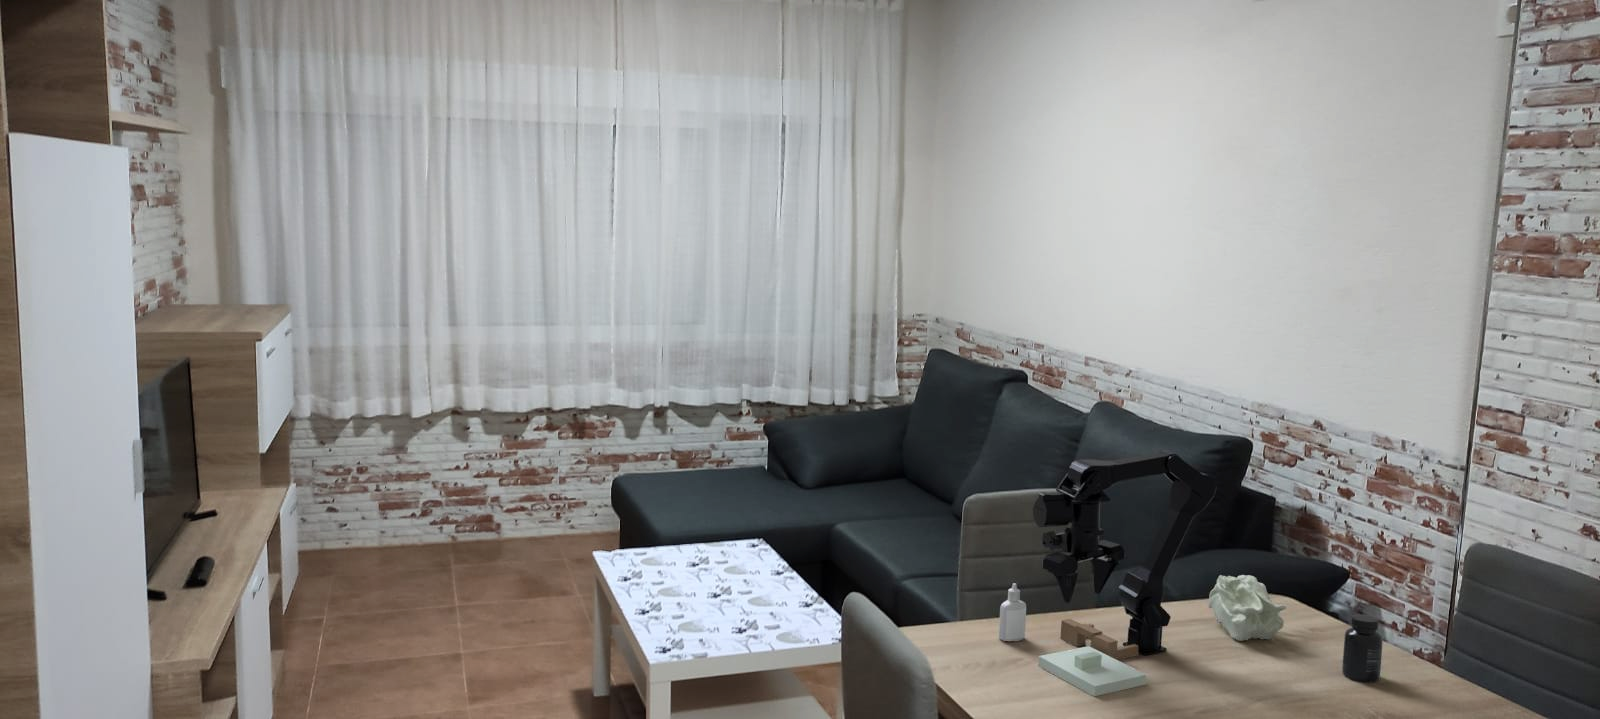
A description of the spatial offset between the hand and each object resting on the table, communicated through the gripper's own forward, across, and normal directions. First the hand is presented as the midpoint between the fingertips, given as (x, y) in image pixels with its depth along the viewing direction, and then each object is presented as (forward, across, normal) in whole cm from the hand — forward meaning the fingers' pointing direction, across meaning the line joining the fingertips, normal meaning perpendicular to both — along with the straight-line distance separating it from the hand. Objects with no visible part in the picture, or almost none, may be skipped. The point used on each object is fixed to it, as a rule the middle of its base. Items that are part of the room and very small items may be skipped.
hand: (1082, 597), depth 235 cm
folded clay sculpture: (+13, -40, +11) cm, 44 cm away
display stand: (+12, +8, +8) cm, 16 cm away
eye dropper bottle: (+12, +6, -14) cm, 19 cm away
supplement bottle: (+14, -38, +38) cm, 56 cm away
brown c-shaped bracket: (+12, -7, -1) cm, 14 cm away
